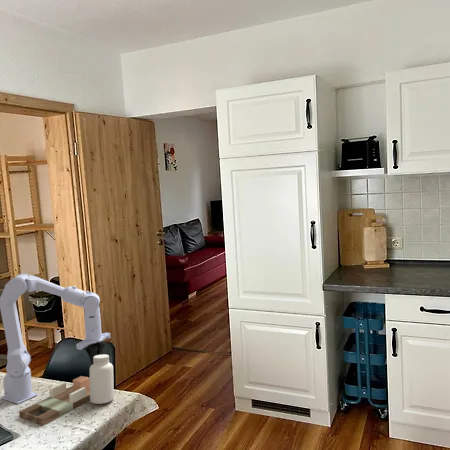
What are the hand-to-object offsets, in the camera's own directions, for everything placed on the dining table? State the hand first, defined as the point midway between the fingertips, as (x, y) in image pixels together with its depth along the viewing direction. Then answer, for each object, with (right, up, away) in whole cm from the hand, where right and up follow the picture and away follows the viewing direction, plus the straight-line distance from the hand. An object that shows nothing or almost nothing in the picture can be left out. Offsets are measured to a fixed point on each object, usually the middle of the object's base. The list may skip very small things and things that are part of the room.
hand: (95, 362), depth 163 cm
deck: (-8, -11, -13) cm, 19 cm away
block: (-3, -8, -5) cm, 10 cm away
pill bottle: (+6, -10, -11) cm, 16 cm away
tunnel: (-6, -8, -11) cm, 15 cm away
